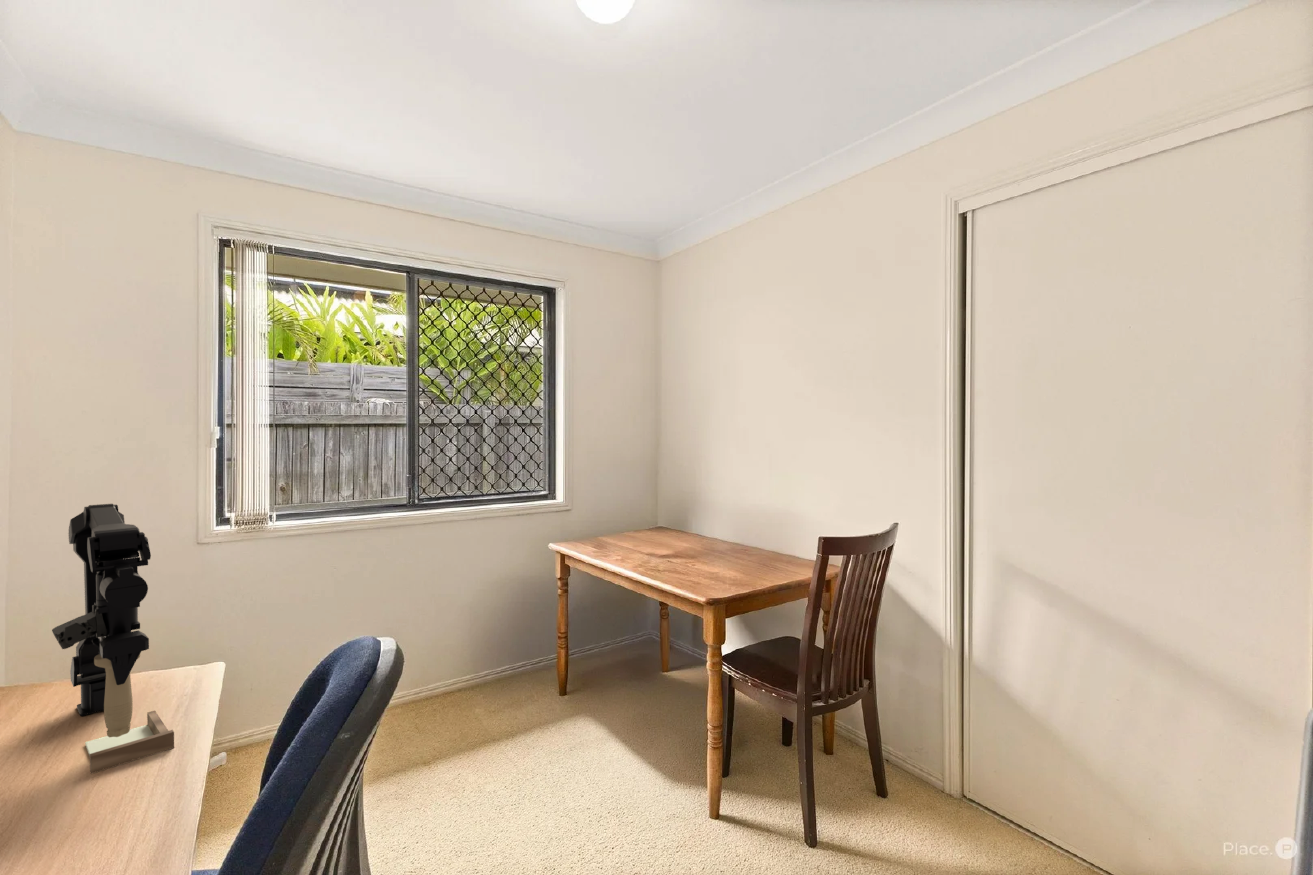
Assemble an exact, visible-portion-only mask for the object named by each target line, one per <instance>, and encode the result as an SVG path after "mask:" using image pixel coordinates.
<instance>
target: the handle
mask: <svg viewBox="0 0 1313 875" xmlns="http://www.w3.org/2000/svg"><path fill="white" fill-rule="evenodd" d="M141 653H142V652H141ZM141 653H140V655H139V656H138V658H137V660H139V659H140V657H141ZM94 664H95V666H98V667H102V668H105V671H106V684H105V698H104V710H103V715H104V723H105V728H106V729H107V730H106V736H108V737H119V736H121V735H124V734H127V733H128V732H129V730H130V729H131V721H132V718H133V708H134V707H133V706H134V704H133V692H132V689H133V688H132V678H131V673H130V674H129V676H128V678H127V680H126V681H125V683H124V684H121V685H117V684H116V681H115V678H114V674H113V670H112V666H111V662H110V660H108V659H106V658H102V657H101V656H100V654H98V655H96V656H95V657H94Z"/></svg>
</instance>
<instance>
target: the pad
mask: <svg viewBox="0 0 1313 875" xmlns="http://www.w3.org/2000/svg"><path fill="white" fill-rule="evenodd" d="M149 736H153V733H152V731H151V730H150V728H149V726H148V725H147V724H145V725H141V726H138V727H134V728H130V730H129V732H128V733H127V734H124V735H121V736H119V737H108V736H107V735H105V736H103V737H102V736H101V737H99V738H96V739H90V740H89V741H88V740H87V741H85V744H84V745H85V748H86V751H87V753H88V756H89V757H90V754H92V753H95V752H98V751H102V750H105V749H109V748H112V747H115V746H119V745H122V744H125V743H129V742H132V741H136V740H139V739H142V738H146V737H149Z"/></svg>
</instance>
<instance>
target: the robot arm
mask: <svg viewBox="0 0 1313 875" xmlns="http://www.w3.org/2000/svg"><path fill="white" fill-rule="evenodd" d="M118 506H119V505H118V504H114V503H104V504H90V505H87V506H84V508H83V511H82V512H81V513H79V514H77V515H76V516H74V517H73V518H70V520H69V525H68V543H69V545H72V547H73V550H72V551H73V552H74V553H75V554H76V555H77V556H78V558H79V559H80V561H82V562H83V573H84V574H83V579H84V580H83V581H84V582H83V583H84V584H83V585H84V610H85V611H84V612H85V614H84V615H80V616H78V617H75V618H72V619H71V620H69V621H65V622H64V623H62V624H60V625H57V626H55V627H54V628H52V629H51V632H52V634H53V636H54V637H55V639H56V641H57V643H58V644H59V646H60V648H61V649H62V650H67V649H69V648H71V647H73V646H74V645H75V644H77V645H76V647H75V656H72V658H71V665H70V670H69V672H70V682H71V685H72V687H73V688H75V687H77V686H80V703H78V704H77V705H76V708H77V712H78V713H79V716H80V717H83V716H88V715H91V714H95V713H99V712H104V698H105V684H106V671H105V668H102V667H98V666H95V664H94V657H95V656H96V655H98V654H100V656H101V657H102V658H106V659H108V660H110V662H111V666H112V670H113V674H114V678H115V681H116V684H117V685H121V684H124V683H125V681H126V680H127V678H128V676H129V674H130V675H131V671H132V669H133V668H134V665H135V663H136V662H137V660H138V659H139V658H138V656H139V655H140V653H142V652H144V651H146V650H149V649H150V648H149V647H150V639H149V637H148V636H147V635H146V633H144V632H143V631H141V630H140V629H141V623H140V621H139V616H138V615H139V614H138V612H139V611H138V610H139V608H140V607H141V602H142V601H144V599H145V598H146V596H147V594H148V590H149V585H148V583H147V581H146V580H145V579H144V578H143V577H142V576H140V574H139V571H138V568H139V567H144V566H148V565H149V561H150V560H151V556H152V555H151V551H150V550H151V549H150V545H149V544H150V543H149V539H148V537H147V536H146V534H145V533H144V532H143V531H140V529H139V527H138V526H136V525H135V524H127V523H125V515H124V514H123V513H121V512H120V511H119V507H118ZM140 656H141V655H140ZM137 658H138V659H137Z"/></svg>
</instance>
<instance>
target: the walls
mask: <svg viewBox="0 0 1313 875" xmlns="http://www.w3.org/2000/svg"><path fill="white" fill-rule="evenodd" d="M146 715H147V716H146V718H147V719H146V720H147V721H146V722H147V724H146V725H148V726H149V728H150V730H151V731H152V733H153V736H149V737H146V738H142V739H139V740H136V741H132V742H129V743H125V744H122V745H119V746H115V747H112V748H109V749H105V750H102V751H98V752H95V753H92V754H90V756H89V772H90V774H91V775H92V774H95V773H98V772H101V771H104V770H108V769H111V768H114V767H117V766H120V765H123V764H127V763H130V762H134V761H137V760H140V759H143V758H146V757H150V756H152V755H157V754H159V753H162V752H165V751H168V750H169V751H170V750H171V749H174V748H175V731H174V730H173V729H168V728H167V726H166V724H165V723H164V722H163V720H162V718H161V717H160V716H159V714H158V713H157V711H156V710H152V711H148V712H147V713H146Z"/></svg>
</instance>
